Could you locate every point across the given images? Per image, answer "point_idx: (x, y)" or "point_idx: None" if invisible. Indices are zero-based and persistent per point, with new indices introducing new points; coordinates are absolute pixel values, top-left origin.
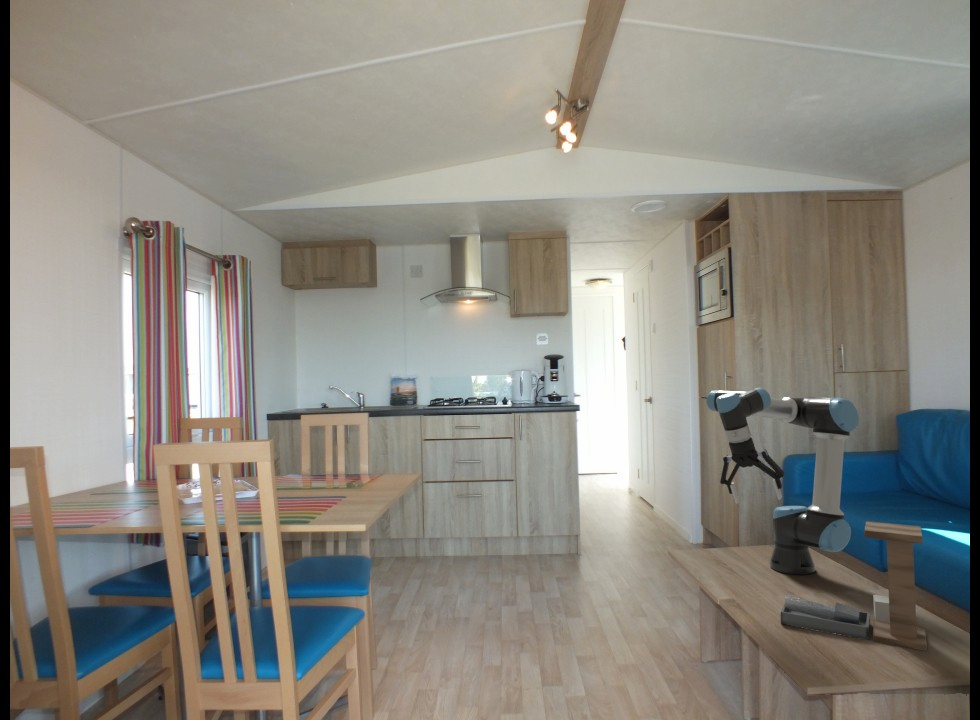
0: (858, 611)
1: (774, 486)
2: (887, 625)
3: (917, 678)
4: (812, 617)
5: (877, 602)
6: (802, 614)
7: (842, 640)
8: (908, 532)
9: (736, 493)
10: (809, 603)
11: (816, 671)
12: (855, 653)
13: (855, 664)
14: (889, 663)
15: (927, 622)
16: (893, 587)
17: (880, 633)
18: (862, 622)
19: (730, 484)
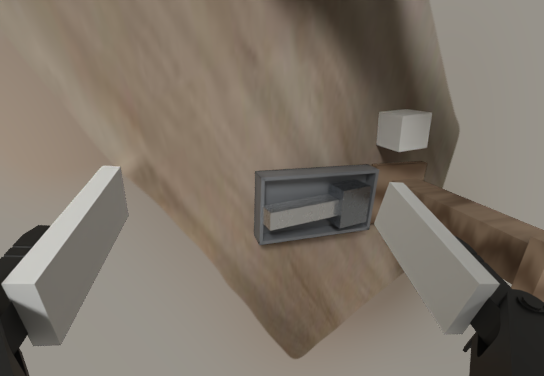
0: (368, 199)
1: (418, 290)
2: (389, 176)
3: (385, 286)
4: (304, 237)
5: (400, 151)
6: (283, 193)
7: (330, 240)
8: None
9: (97, 227)
10: (305, 218)
11: (302, 332)
12: (340, 267)
13: (337, 293)
14: (368, 270)
15: (437, 109)
16: None
17: (376, 211)
18: (361, 176)
19: (24, 337)
